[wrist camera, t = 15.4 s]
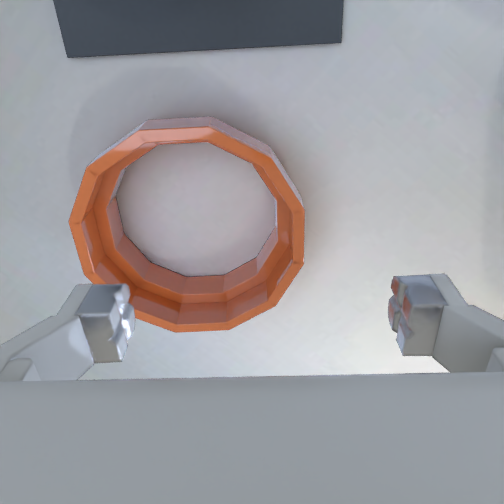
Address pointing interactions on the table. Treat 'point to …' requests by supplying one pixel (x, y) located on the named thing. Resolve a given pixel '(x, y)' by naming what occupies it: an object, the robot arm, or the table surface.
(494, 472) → the robot arm
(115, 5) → the mat
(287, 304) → the table surface
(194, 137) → the ring
